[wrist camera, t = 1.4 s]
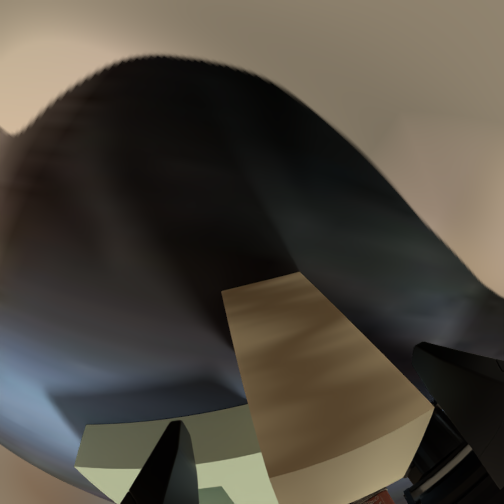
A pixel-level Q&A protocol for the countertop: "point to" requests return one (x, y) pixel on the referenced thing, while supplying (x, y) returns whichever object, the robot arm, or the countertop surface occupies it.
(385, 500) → the lighter
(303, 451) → the peg
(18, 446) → the countertop surface
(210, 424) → the well holder
